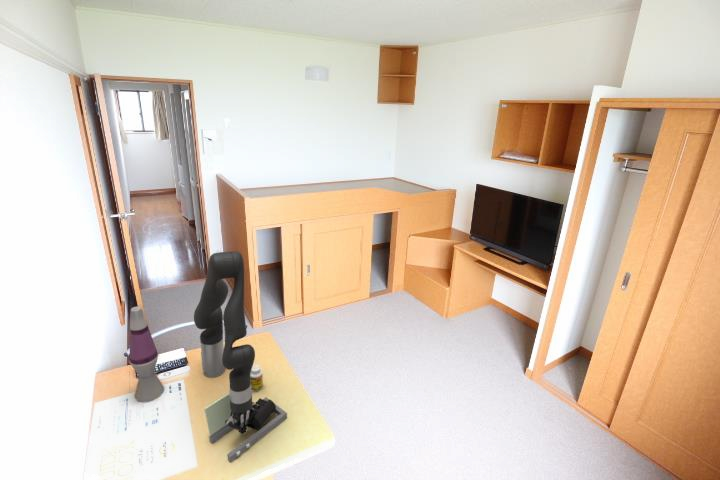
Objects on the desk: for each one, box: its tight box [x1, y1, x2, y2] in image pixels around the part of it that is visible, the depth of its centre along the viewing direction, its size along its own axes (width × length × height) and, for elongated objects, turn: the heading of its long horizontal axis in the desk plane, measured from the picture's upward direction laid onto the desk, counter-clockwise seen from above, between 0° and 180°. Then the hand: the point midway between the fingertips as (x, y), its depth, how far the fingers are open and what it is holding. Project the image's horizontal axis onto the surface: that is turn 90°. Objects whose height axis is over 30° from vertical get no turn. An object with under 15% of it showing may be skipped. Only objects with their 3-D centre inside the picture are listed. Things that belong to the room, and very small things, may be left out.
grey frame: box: [208, 396, 288, 463], centre depth 141 cm, size 13×26×2 cm, turn 142°
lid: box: [203, 392, 235, 437], centre depth 137 cm, size 12×10×1 cm
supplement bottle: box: [250, 364, 264, 392], centre depth 160 cm, size 6×6×10 cm
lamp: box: [128, 305, 165, 403], centre depth 149 cm, size 11×11×40 cm
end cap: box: [247, 398, 276, 431], centre depth 145 cm, size 10×7×7 cm
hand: (242, 432), depth 139 cm, fingers closed
